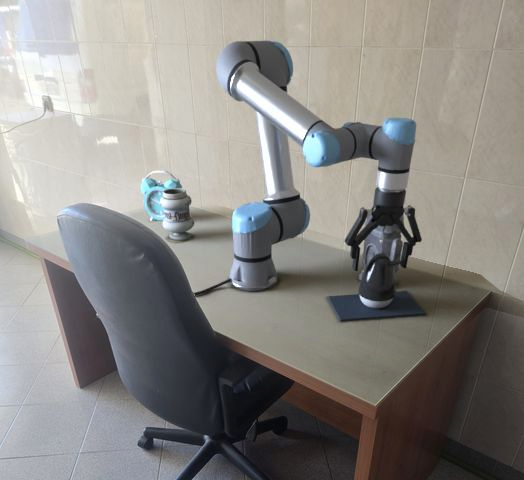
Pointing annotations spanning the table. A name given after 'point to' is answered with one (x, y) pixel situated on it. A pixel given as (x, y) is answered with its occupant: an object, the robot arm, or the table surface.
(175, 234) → the apothecary jar
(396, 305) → the desk mat
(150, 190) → the alarm clock
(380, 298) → the black rounded piece
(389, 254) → the figurine
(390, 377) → the table surface
